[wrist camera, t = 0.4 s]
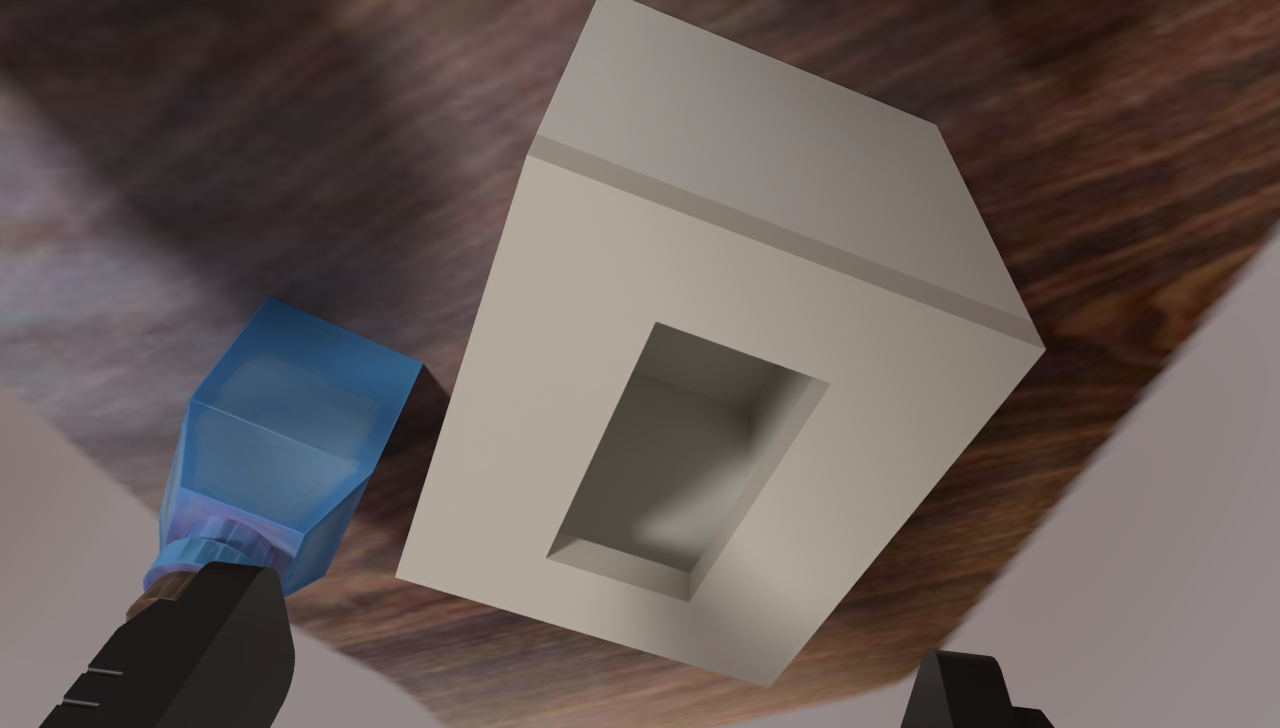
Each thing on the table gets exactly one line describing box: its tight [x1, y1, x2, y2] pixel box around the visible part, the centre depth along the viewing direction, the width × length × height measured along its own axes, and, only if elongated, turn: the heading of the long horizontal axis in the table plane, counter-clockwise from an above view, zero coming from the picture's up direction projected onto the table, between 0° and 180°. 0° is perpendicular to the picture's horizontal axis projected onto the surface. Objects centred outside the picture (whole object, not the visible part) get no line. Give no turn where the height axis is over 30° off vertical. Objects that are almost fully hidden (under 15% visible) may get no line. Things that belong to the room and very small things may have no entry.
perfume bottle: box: [126, 296, 423, 622], centre depth 31 cm, size 6×6×12 cm
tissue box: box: [395, 0, 1046, 688], centre depth 26 cm, size 13×11×12 cm
